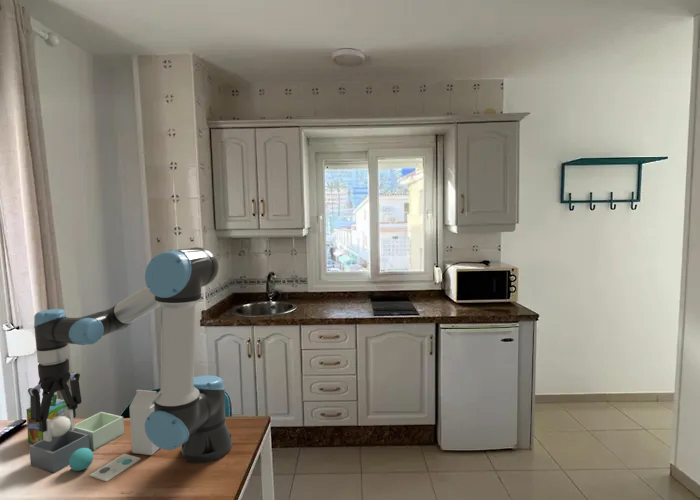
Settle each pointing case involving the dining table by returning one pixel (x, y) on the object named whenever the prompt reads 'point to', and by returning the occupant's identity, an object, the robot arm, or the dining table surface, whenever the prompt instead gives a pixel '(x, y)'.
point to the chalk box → (55, 410)
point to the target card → (115, 467)
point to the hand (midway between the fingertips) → (59, 434)
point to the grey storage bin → (57, 450)
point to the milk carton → (141, 422)
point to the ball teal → (81, 459)
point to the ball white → (59, 425)
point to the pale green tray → (101, 428)
